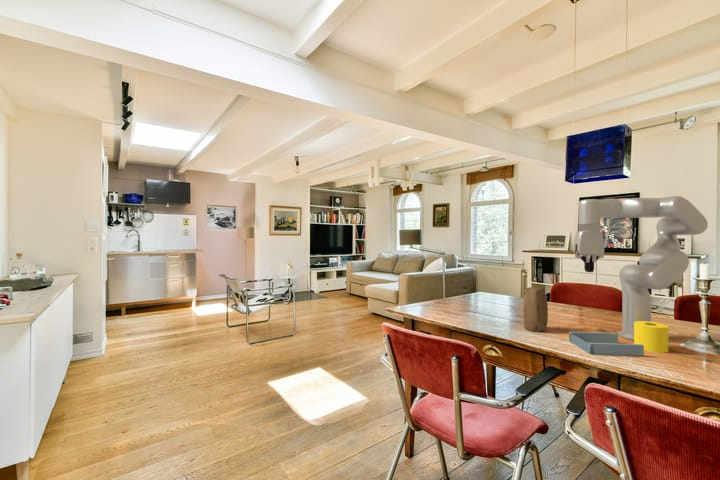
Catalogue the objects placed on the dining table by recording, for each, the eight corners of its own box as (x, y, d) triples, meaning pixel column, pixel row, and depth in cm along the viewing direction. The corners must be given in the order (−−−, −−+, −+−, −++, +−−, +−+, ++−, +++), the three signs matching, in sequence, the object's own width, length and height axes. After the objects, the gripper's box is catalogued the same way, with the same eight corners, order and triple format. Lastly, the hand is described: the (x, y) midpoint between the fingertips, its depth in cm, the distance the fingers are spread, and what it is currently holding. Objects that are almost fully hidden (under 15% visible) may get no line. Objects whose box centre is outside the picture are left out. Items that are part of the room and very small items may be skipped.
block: (537, 333, 146) (536, 289, 146) (521, 329, 153) (521, 287, 153) (550, 329, 152) (550, 287, 152) (534, 325, 158) (534, 285, 158)
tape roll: (645, 342, 132) (645, 320, 132) (675, 351, 122) (675, 326, 122) (627, 345, 129) (627, 322, 129) (656, 353, 120) (656, 328, 120)
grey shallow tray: (616, 342, 133) (616, 332, 133) (643, 356, 117) (643, 345, 117) (569, 340, 135) (569, 331, 135) (590, 354, 120) (590, 343, 120)
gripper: (602, 228, 138) (603, 271, 139) (565, 229, 140) (565, 270, 141) (614, 228, 131) (614, 272, 131) (574, 228, 133) (574, 272, 133)
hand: (589, 271), depth 136 cm, fingers closed
